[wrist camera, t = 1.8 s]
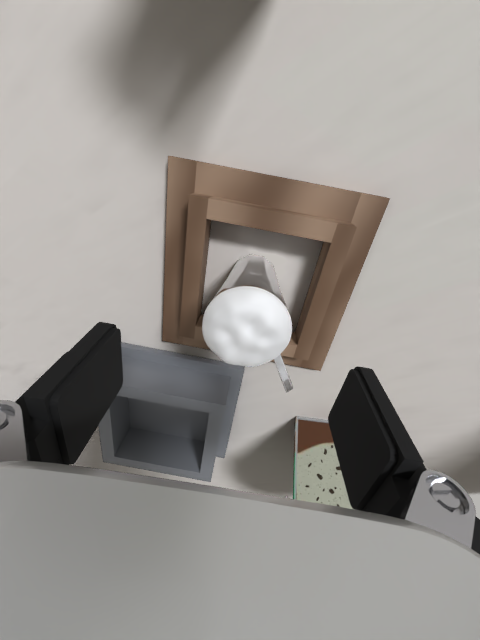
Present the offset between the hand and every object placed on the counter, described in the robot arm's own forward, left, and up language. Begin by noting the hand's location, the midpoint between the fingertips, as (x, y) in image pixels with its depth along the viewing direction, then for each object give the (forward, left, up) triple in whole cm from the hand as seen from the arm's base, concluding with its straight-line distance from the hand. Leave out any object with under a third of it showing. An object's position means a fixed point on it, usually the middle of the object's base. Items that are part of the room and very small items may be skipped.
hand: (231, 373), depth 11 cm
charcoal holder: (+5, +15, -11) cm, 20 cm away
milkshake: (-1, 0, -12) cm, 12 cm away
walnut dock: (-1, 0, -11) cm, 11 cm away
